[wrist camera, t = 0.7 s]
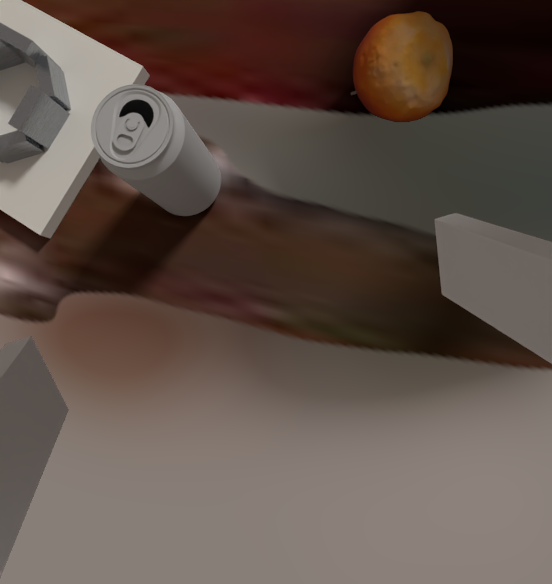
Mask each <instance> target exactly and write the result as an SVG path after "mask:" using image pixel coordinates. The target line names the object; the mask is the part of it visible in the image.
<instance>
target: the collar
mask: <svg viewBox="0 0 552 584" xmlns="http://www.w3.org/2000/svg"><path fill="white" fill-rule="evenodd" d="M23 63H27V64H29V65H31V66H32V67H34V68H36V71H37V76H38V81H39V87H40V90H39V89H38V88H36V87H34V86H33V85H31V86H30V88H29V90H28V91H27V93H26V94H25V96H24V98H23V99H22V101H21V103H20V104H19V106H18V107H17V109H16V111H15V112H14V114H13V116H12V117H11V119H10V121H9V122H8V124H9V125H11V126H12V127H14V128H16V129H17V131H13V132H10V133H7V134H4V135H0V162H2V163H3V162H6V163H11V162H14V161H18V160H21V159H24V158H28V157H31V156H34V155H38V154H41V153H44V152H45V151H44V147H46V148H48V149H49V148H50V146H51V145H52V143H53V141H54V140H55V138H56V137H57V135H58V133H59V132H60V130H61V128H62V127H63V125H64V123H65V122H66V120H67V119H68V117H69V115H70V114H69V113H68V112H67V110H70V109H71V106H70V101H69V96H68V91H67V86H66V81H65V75H64V72H63V71H62V70H61V67H60V66H58V65H57V64H56V63H55V62H54V61H53V60H52V59H51V58H50V57H49V56H48V55H47V54H46V53H45V52H44V51H43V50H42V49H41V48H40V47H39V46H38V45H37V44H36V43H35V42H34V41H32V40H31V39H29V38H27V37H25V36H24V35H22V34H20V33H18V32H16V31H15V30H13V29H11V28H9V27H7V26H6V25H4V24H2V23H0V71H1V70H4V69H7V68H10V67H13V66H16V65H19V64H23Z"/></svg>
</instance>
